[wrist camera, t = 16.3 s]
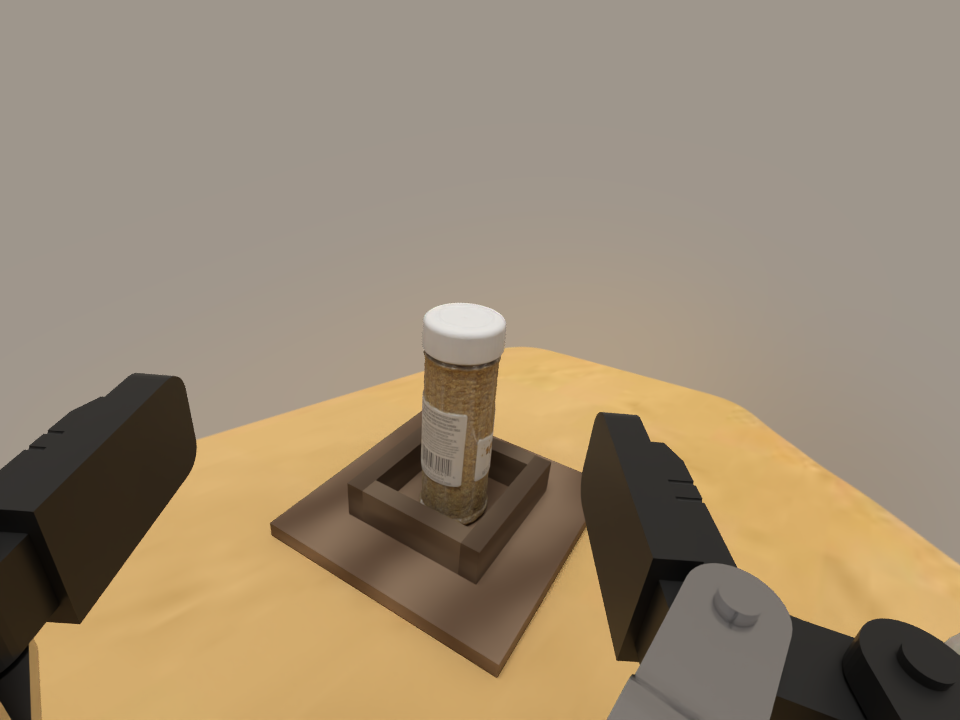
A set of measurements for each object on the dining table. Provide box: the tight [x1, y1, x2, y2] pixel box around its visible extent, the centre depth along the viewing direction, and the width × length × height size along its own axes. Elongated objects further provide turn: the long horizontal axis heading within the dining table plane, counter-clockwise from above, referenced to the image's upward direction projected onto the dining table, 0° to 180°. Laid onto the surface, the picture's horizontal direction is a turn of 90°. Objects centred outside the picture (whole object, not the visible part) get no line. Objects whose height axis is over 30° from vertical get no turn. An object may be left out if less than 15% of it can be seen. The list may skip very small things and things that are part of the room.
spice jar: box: [419, 303, 506, 525], centre depth 32 cm, size 5×5×14 cm
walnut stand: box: [270, 411, 586, 677], centre depth 35 cm, size 16×16×4 cm
